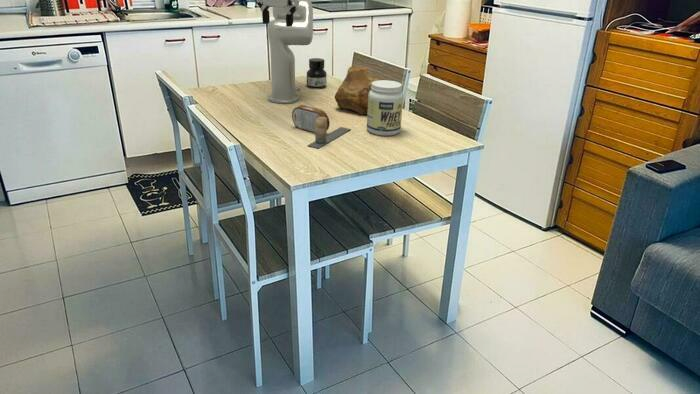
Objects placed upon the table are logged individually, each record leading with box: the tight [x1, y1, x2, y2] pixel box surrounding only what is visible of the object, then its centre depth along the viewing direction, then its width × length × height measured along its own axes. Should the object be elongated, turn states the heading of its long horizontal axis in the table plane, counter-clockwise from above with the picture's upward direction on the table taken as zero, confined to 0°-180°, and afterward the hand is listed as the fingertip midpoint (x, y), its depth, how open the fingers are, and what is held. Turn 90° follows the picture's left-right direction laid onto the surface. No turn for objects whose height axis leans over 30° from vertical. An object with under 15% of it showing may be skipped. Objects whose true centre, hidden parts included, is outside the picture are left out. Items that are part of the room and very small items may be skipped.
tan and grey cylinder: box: [314, 117, 328, 144], centre depth 173 cm, size 4×4×8 cm
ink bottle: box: [306, 57, 328, 89], centre depth 237 cm, size 10×9×12 cm
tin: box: [291, 104, 331, 134], centre depth 184 cm, size 15×3×8 cm, turn 55°
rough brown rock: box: [334, 66, 381, 116], centre depth 208 cm, size 23×17×15 cm
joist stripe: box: [307, 126, 352, 150], centre depth 180 cm, size 22×4×1 cm, turn 152°
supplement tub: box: [366, 79, 404, 137], centre depth 185 cm, size 12×12×17 cm
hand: (277, 24), depth 183 cm, fingers open, 9 cm apart
